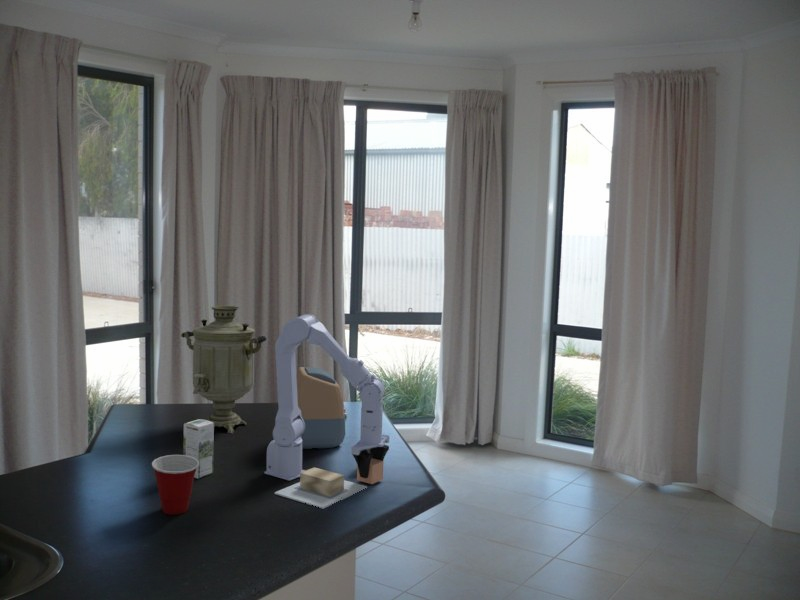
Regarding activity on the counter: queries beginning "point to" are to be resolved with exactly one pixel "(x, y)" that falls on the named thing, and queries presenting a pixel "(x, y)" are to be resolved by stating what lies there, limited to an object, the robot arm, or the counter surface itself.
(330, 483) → the slab
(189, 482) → the plastic cup
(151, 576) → the counter surface
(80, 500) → the counter surface
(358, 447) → the robot arm
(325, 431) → the orange and grey canister
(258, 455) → the counter surface
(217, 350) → the samovar
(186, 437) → the syrup box
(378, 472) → the cube
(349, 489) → the white flat plate
